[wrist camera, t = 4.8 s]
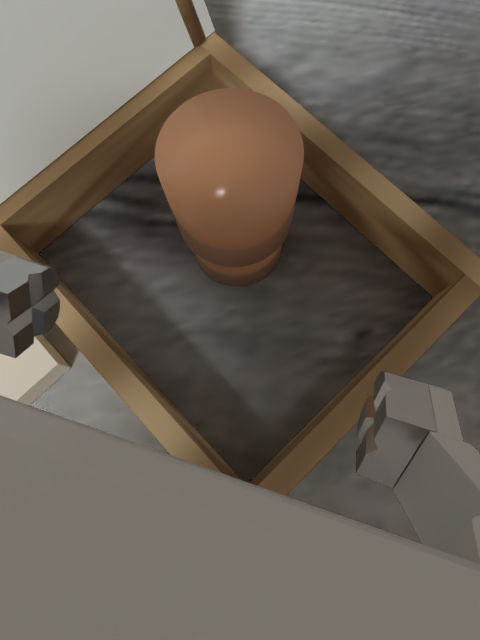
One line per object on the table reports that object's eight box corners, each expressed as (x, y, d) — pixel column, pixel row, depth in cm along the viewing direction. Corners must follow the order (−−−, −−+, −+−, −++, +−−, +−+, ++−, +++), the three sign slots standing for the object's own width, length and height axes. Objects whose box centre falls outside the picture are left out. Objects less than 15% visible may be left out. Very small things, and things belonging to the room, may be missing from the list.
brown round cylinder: (307, 243, 23) (335, 151, 15) (235, 311, 22) (225, 250, 14) (239, 180, 24) (231, 62, 16) (168, 242, 23) (124, 151, 15)
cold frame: (461, 297, 22) (630, 196, 12) (246, 518, 20) (237, 613, 10) (177, 47, 26) (130, -181, 16) (-26, 211, 24) (-222, 64, 14)
